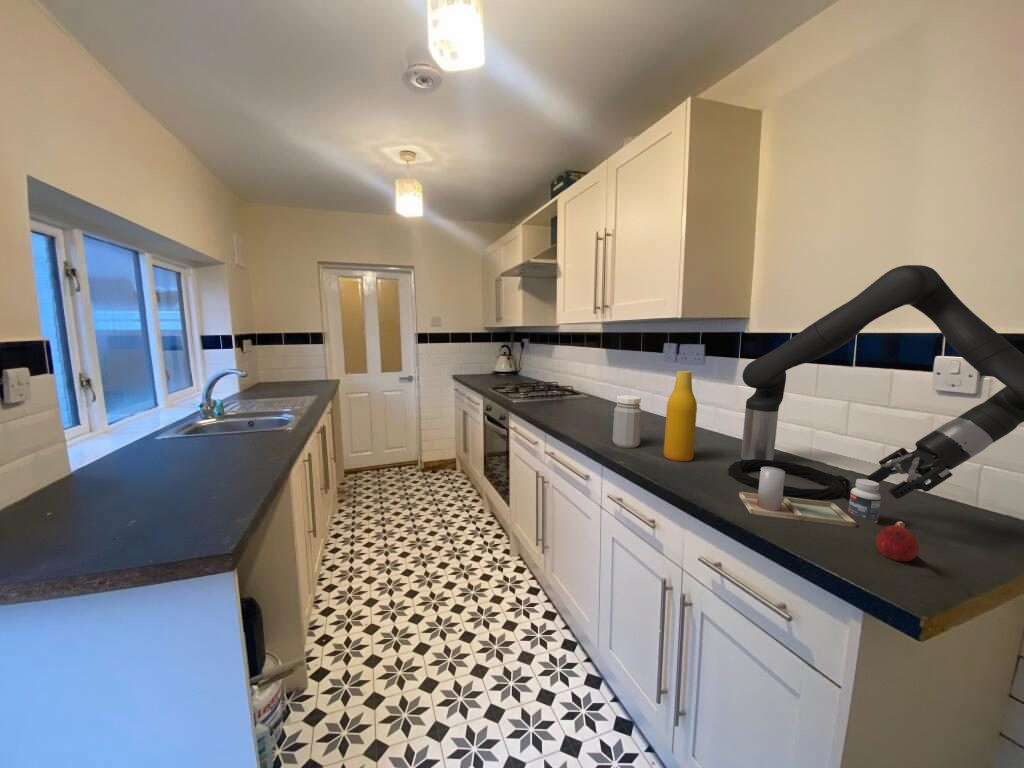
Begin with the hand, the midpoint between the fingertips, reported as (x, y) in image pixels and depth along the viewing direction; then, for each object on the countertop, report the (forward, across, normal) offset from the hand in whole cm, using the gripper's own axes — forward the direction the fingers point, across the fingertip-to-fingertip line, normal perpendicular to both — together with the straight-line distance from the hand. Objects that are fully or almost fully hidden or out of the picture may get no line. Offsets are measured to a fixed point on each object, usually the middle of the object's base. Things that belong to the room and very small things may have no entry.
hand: (880, 488), depth 92 cm
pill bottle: (+8, 0, +4) cm, 8 cm away
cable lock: (+14, -19, -2) cm, 24 cm away
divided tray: (+18, +3, -7) cm, 20 cm away
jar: (+45, -45, -34) cm, 72 cm away
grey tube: (+20, +3, -11) cm, 24 cm away
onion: (+10, +20, +1) cm, 23 cm away
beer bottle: (+33, -35, -22) cm, 53 cm away
